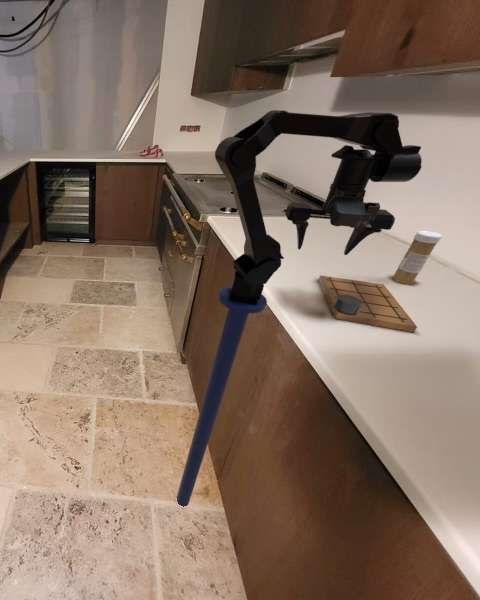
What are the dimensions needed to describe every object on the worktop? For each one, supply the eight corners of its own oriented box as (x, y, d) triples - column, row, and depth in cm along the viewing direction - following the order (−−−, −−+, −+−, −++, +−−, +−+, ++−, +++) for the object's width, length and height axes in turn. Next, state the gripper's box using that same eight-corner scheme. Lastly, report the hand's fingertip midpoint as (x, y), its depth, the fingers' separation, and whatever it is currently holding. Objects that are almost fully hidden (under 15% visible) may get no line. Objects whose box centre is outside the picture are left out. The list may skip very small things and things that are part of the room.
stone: (336, 311, 72) (340, 302, 71) (331, 301, 75) (335, 292, 74) (361, 315, 70) (366, 306, 69) (355, 305, 74) (359, 296, 73)
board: (335, 318, 72) (338, 312, 72) (317, 280, 88) (320, 274, 87) (413, 332, 68) (418, 326, 67) (380, 289, 83) (384, 283, 83)
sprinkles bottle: (395, 275, 90) (421, 228, 83) (416, 281, 87) (445, 234, 80) (388, 279, 88) (414, 232, 81) (409, 286, 85) (438, 237, 78)
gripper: (304, 186, 64) (279, 259, 72) (425, 194, 57) (383, 272, 65) (296, 176, 72) (275, 241, 80) (400, 182, 66) (366, 252, 74)
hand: (321, 251), depth 75 cm, fingers open, 9 cm apart
